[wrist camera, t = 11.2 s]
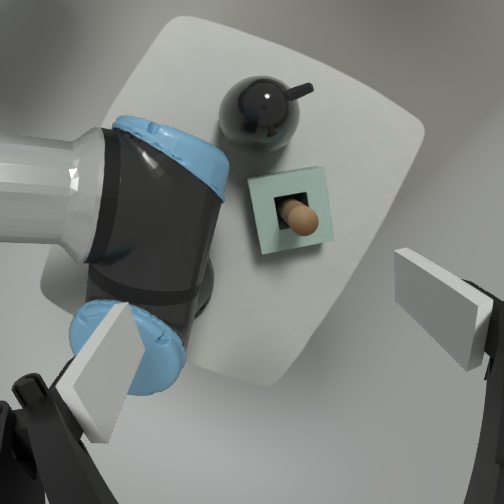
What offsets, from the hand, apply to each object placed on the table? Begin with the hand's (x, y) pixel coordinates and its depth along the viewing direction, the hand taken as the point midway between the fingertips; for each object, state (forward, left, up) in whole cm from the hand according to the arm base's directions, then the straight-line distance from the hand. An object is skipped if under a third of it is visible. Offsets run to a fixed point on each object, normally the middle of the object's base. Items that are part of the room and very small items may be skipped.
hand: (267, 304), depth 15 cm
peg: (+6, -1, -33) cm, 33 cm away
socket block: (+6, -1, -33) cm, 33 cm away
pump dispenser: (+4, +12, -33) cm, 35 cm away
